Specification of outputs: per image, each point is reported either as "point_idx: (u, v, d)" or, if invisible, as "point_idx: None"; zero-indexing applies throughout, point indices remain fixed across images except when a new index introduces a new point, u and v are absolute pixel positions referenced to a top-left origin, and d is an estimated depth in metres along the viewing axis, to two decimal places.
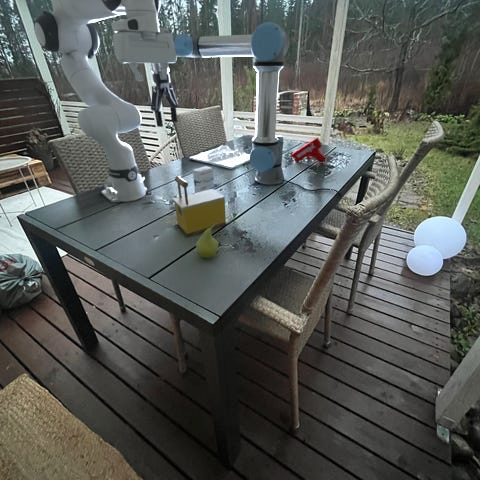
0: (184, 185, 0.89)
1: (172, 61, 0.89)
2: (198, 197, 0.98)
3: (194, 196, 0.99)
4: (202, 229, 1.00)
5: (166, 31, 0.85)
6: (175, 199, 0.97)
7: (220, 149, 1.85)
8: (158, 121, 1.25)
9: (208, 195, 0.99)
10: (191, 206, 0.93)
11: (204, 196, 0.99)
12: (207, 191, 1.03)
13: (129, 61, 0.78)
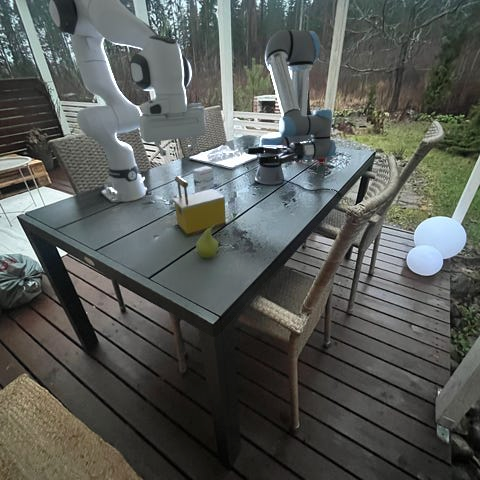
0: (184, 185, 0.89)
1: (201, 134, 0.86)
2: (198, 197, 0.98)
3: (194, 196, 0.99)
4: (202, 229, 1.00)
5: (197, 106, 0.83)
6: (175, 199, 0.97)
7: (220, 149, 1.85)
8: (264, 159, 1.04)
9: (208, 195, 0.99)
10: (191, 206, 0.93)
11: (204, 196, 0.99)
12: (207, 191, 1.03)
13: (151, 141, 0.79)
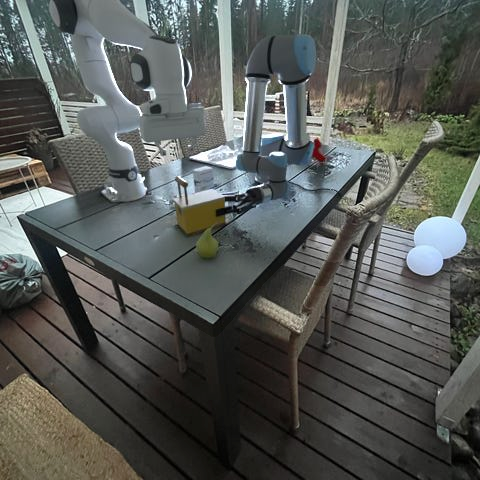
0: (184, 185, 0.89)
1: (201, 134, 0.86)
2: (198, 197, 0.98)
3: (194, 196, 0.99)
4: (202, 229, 1.00)
5: (197, 106, 0.83)
6: (175, 199, 0.97)
7: (220, 149, 1.85)
8: (222, 211, 1.00)
9: (208, 195, 0.99)
10: (191, 206, 0.93)
11: (204, 196, 0.99)
12: (207, 191, 1.03)
13: (151, 141, 0.79)
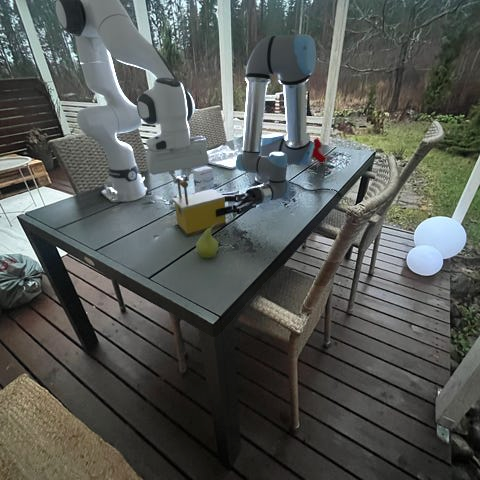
0: (184, 185, 0.89)
1: (203, 164, 0.91)
2: (198, 197, 0.98)
3: (194, 196, 0.99)
4: (202, 229, 1.00)
5: (200, 139, 0.88)
6: (175, 199, 0.97)
7: (220, 149, 1.85)
8: (222, 211, 1.00)
9: (208, 195, 0.99)
10: (191, 206, 0.93)
11: (204, 196, 0.99)
12: (207, 191, 1.03)
13: (156, 173, 0.84)
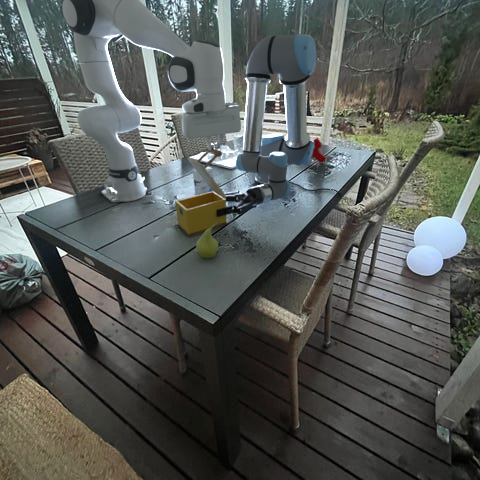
0: (218, 153, 0.90)
1: (236, 131, 0.92)
2: None
3: None
4: (203, 230, 1.00)
5: (233, 105, 0.88)
6: None
7: (220, 149, 1.85)
8: (222, 211, 1.00)
9: None
10: (206, 172, 0.89)
11: None
12: None
13: (192, 137, 0.85)
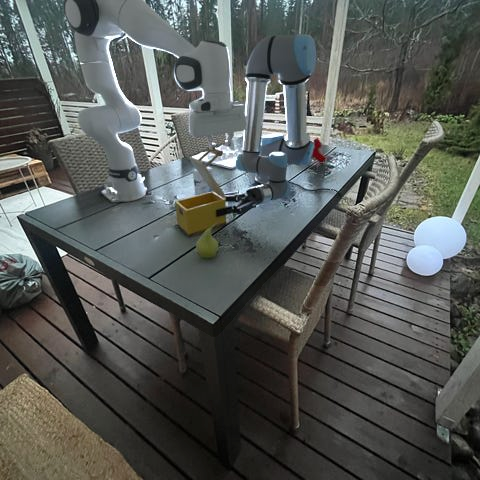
0: (220, 152, 0.90)
1: (241, 129, 0.93)
2: None
3: None
4: (203, 230, 1.00)
5: (239, 103, 0.90)
6: None
7: (220, 149, 1.85)
8: (222, 211, 1.00)
9: None
10: (207, 171, 0.89)
11: None
12: None
13: (199, 136, 0.86)
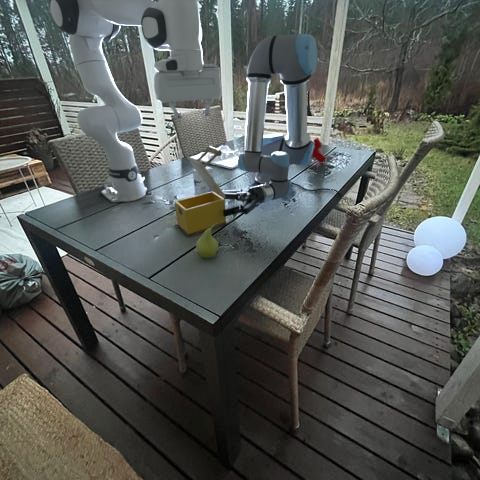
0: (218, 152, 0.90)
1: (216, 97, 0.83)
2: None
3: None
4: (203, 229, 1.00)
5: (213, 66, 0.80)
6: None
7: (220, 149, 1.85)
8: (229, 211, 1.00)
9: None
10: (206, 171, 0.90)
11: None
12: None
13: (166, 101, 0.76)
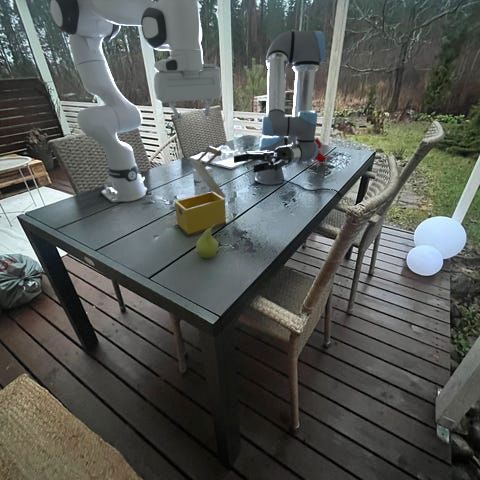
0: (218, 152, 0.90)
1: (216, 97, 0.83)
2: None
3: None
4: (203, 229, 1.00)
5: (213, 66, 0.80)
6: None
7: (220, 149, 1.85)
8: (259, 166, 0.98)
9: None
10: (206, 171, 0.90)
11: None
12: None
13: (166, 101, 0.76)
